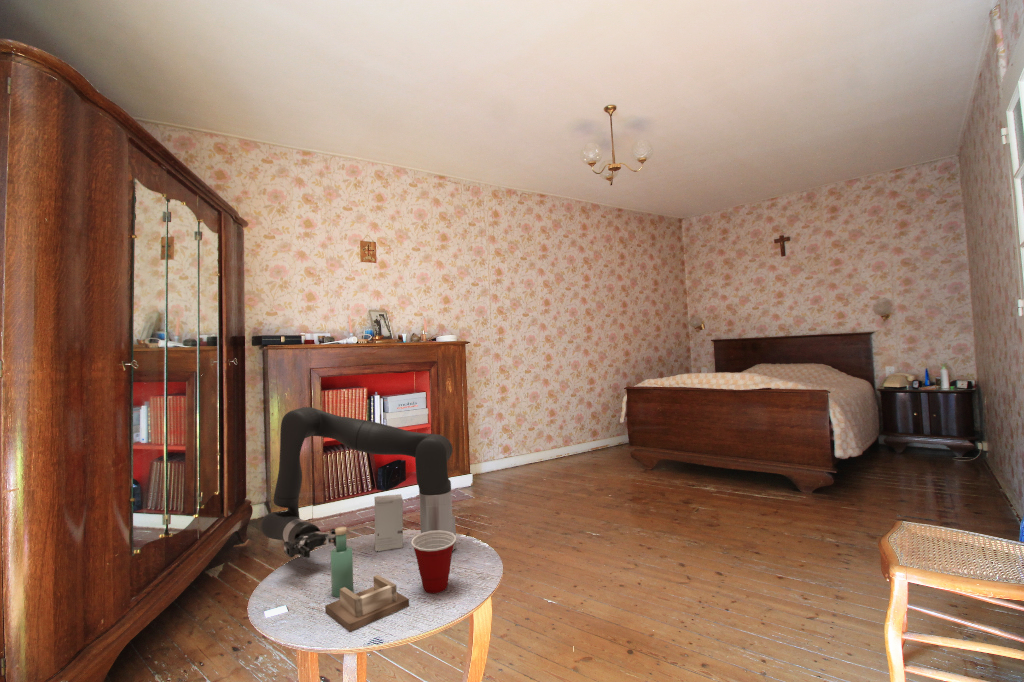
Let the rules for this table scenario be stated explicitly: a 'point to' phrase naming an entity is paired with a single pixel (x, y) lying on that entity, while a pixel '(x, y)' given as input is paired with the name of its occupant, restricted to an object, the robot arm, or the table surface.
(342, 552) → the green bottle
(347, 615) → the bottle cradle
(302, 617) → the table surface
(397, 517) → the skincare box
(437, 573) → the plastic cup
